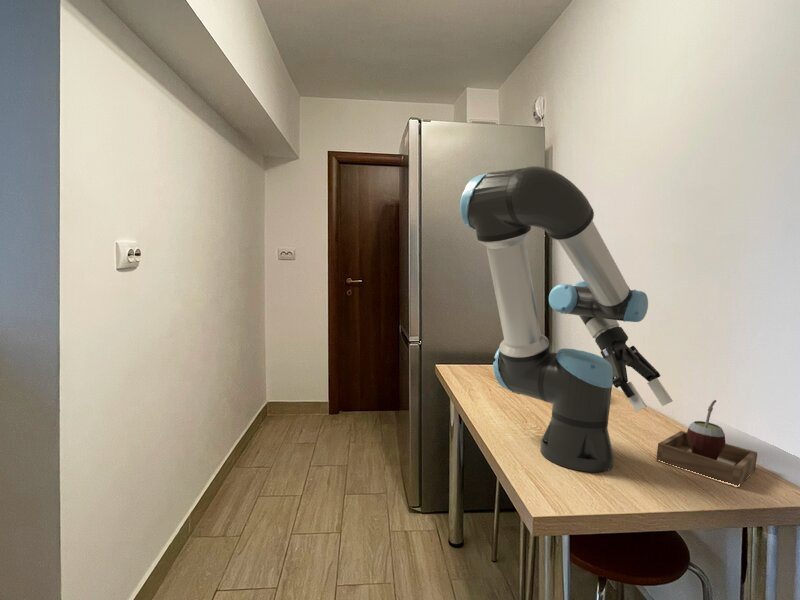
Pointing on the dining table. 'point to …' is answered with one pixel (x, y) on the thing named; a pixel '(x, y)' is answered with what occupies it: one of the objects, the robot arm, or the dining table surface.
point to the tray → (708, 460)
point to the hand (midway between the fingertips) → (655, 406)
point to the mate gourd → (706, 437)
